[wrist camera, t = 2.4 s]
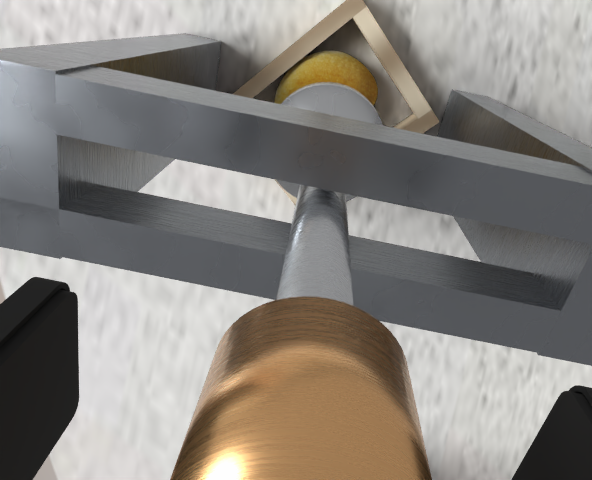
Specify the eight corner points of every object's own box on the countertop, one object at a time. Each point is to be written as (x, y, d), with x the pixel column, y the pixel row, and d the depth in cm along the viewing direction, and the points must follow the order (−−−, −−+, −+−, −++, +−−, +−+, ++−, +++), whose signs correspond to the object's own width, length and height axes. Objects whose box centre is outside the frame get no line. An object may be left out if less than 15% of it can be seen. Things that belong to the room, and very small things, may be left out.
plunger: (367, 206, 30) (467, 758, 8) (259, 184, 30) (38, 677, 8) (397, 95, 27) (710, 459, 5) (278, 70, 27) (5, 317, 5)
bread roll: (381, 53, 38) (386, 56, 34) (366, 162, 42) (369, 176, 38) (278, 45, 38) (272, 47, 34) (272, 154, 42) (267, 167, 38)
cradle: (433, 116, 39) (439, 122, 37) (304, 204, 43) (302, 214, 41) (355, -7, 36) (357, -9, 34) (223, 101, 40) (217, 106, 38)
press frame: (459, 178, 41) (612, 369, 19) (177, 120, 41) (-17, 243, 18) (488, 96, 38) (712, 207, 16) (184, 33, 38) (-37, 51, 15)
